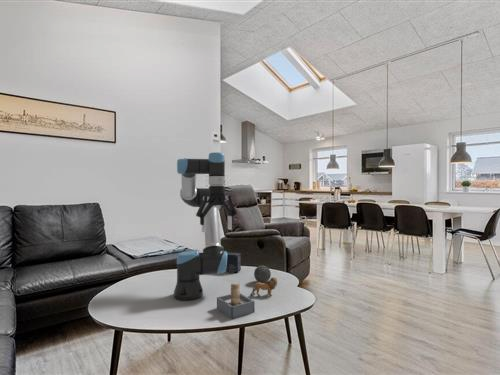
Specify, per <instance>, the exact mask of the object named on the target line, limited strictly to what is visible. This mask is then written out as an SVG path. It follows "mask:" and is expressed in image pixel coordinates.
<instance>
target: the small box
mask: <svg viewBox="0 0 500 375" xmlns="http://www.w3.org/2000/svg"><path fill="white" fill-rule="evenodd" d="M241 254H242V253H241V252H239V253H238V252H227V267H226V271H225V272H224V273H231V272H237V273H236V274H238V273H240V272H241V271H240V270H242V267H241V265H242V263H241V262H242V261H241V259H242V258H241V256H242V255H241ZM239 271H240V272H239Z"/></svg>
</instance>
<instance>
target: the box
mask: <svg viewBox="0 0 500 375" xmlns="http://www.w3.org/2000/svg"><path fill="white" fill-rule="evenodd" d="M216 309H218V310H219V311H221V312H222V313H223V314H225V315H226V316H227V317H229V318H230V319H231V320H233V319H236V318H240V317H243V316H246V315H249V314H253V313H255V312H256V310H255V300H253V299H251V298H250V297H248V296H246V295H245V294H243V293H241V292H240V304H239V305H235V306H232V305H231V293H230V294H225V295H221V296H218V297H216Z"/></svg>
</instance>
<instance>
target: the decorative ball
mask: <svg viewBox="0 0 500 375" xmlns="http://www.w3.org/2000/svg"><path fill="white" fill-rule="evenodd" d="M271 274H272V272H271V269H270V268H269V267H268V266H266V265H259V266H257V267H255V269H254V273H253V275H254V276H253V277H254V278H255V280H256V281H257V282H260V283H266V282H267V281H269V280H270V279H271V276H272V275H271Z"/></svg>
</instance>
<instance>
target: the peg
mask: <svg viewBox="0 0 500 375" xmlns="http://www.w3.org/2000/svg"><path fill="white" fill-rule="evenodd" d="M240 293H241V291H240V283H239V282H232V283H230V294H231V305H232V306H235V305H239V304H240Z"/></svg>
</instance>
